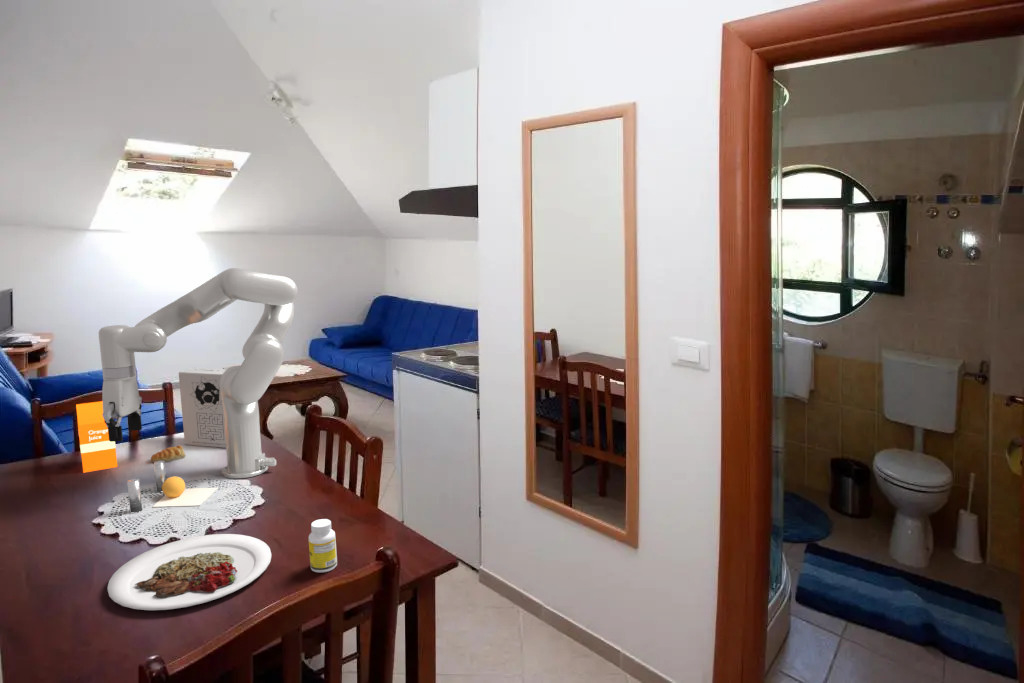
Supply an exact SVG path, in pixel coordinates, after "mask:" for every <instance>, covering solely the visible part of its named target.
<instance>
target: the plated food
mask: <svg viewBox="0 0 1024 683" xmlns="http://www.w3.org/2000/svg"><path fill="white" fill-rule="evenodd" d="M271 551H272V550H271V548H270V546H269V545H268V544H267V543H266V542H264V541H263V540H261V539H259V538H257V537H253V536H250V535H245V534H235V533H220V534H219V533H215V534H213V533H212V534H206V535H198V536H194V537H187V538H182V539H180V540H179V539H178V540H176V541H172V542H167V543H166V544H163V545H159V546H157V547H156V546H155V548H152V549H150V550H146V551H145V552H143V553H140V554H139V555H137V556H135V557H133V558H132V559H130V560H129V561H127V562H126V563H124V564H123V565H121V566H120V567H119V568H118V569H116V571H115V572H114V573H113V574H112V575H111V577H110V579H109V580H108V584H107V592H108V596H109V598H110V599H111V600H112V601H113V602H114V603H117V604H118V605H120V606H122V607H125V608H130V609H133V610H142V611H143V610H144V611H167V610H174V609H181V608H188V607H193V606H196V605H200V604H204V603H208V602H211V601H213V600H217V599H220V598H223V597H225V596H227V595H230V594H232V593H234V592H236V591H239V590H240V589H242V588H244V587H246V586H247V585H249V584H251V583H252V582H254V581H255V580H257V579H258V578H259V577H260V576H261V575H262V574H263V573H264V572H266V570H267V569H268V567H269V566H270V563H271V561H272V552H271Z"/></svg>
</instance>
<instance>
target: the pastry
mask: <svg viewBox="0 0 1024 683" xmlns="http://www.w3.org/2000/svg"><path fill="white" fill-rule="evenodd" d="M185 457H186V452H185V450H184V448H183V446H182V445H176V446H170V447H166V448H165V449H162V450H160V451H158V452H156V453H155V454H152V456H151V457H150V462H152V463H154V462H156V461H165V463H170V462H173V461H178V460H179V461H180V460H182V459H185Z"/></svg>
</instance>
